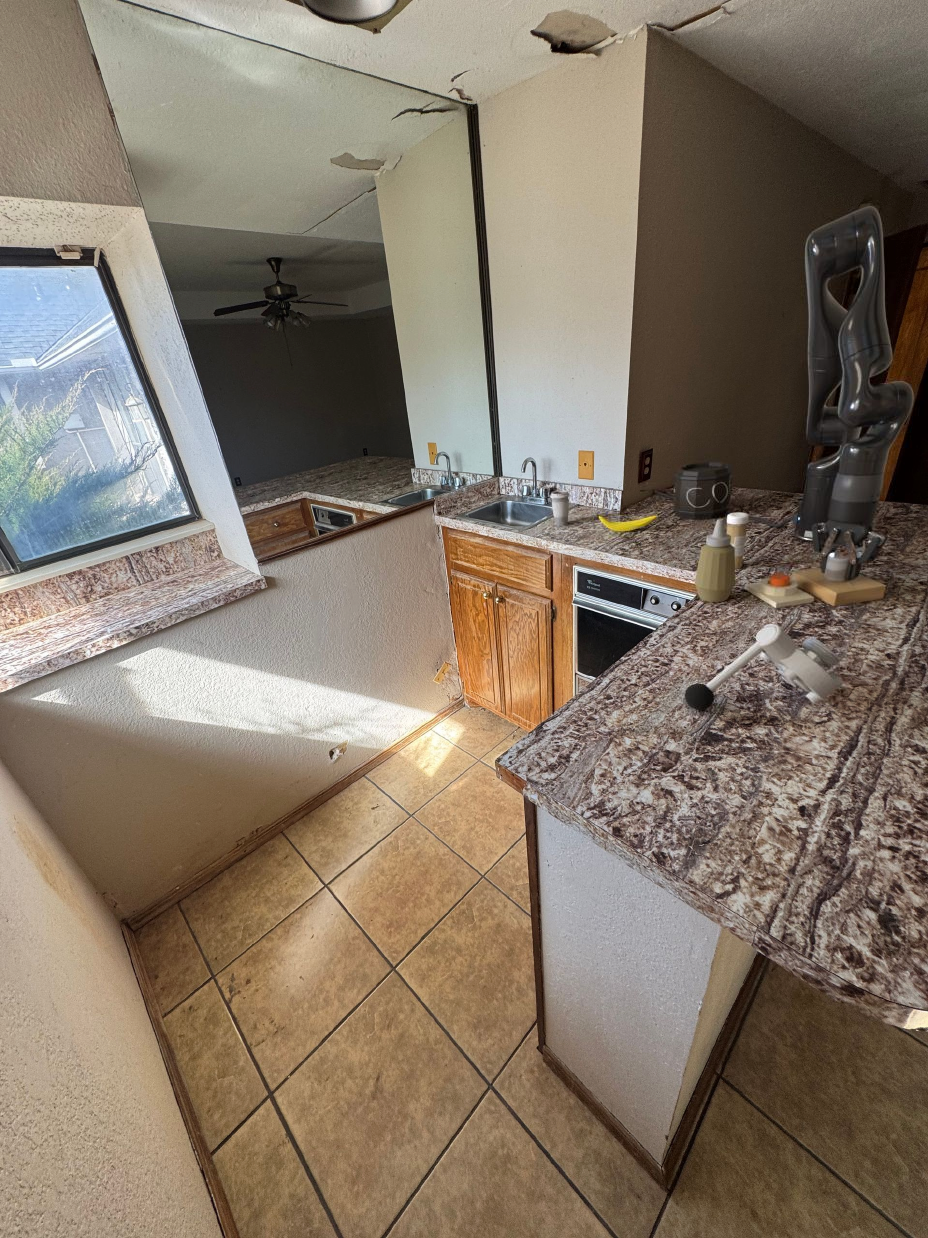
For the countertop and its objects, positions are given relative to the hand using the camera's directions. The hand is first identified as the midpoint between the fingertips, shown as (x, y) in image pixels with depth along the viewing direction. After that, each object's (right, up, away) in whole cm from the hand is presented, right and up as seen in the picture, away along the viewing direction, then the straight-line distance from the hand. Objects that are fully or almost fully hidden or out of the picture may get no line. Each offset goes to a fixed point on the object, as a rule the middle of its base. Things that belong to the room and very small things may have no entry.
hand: (838, 575), depth 101 cm
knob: (0, 0, 0) cm, 1 cm away
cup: (-43, +26, +76) cm, 91 cm away
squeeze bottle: (-23, -5, +7) cm, 24 cm away
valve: (-33, -22, -26) cm, 48 cm away
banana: (-25, +20, +58) cm, 66 cm away
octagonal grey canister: (+3, +27, +64) cm, 69 cm away
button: (-11, -2, +2) cm, 11 cm away
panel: (0, -3, +2) cm, 4 cm away
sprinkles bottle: (-11, +4, +21) cm, 24 cm away
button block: (-11, -4, +3) cm, 12 cm away
